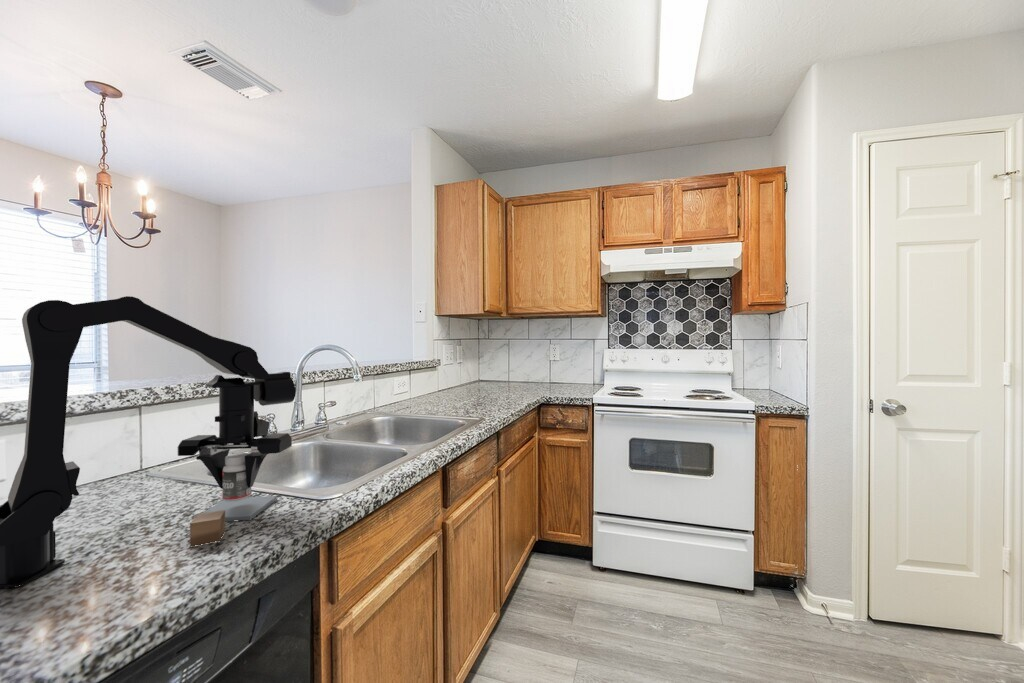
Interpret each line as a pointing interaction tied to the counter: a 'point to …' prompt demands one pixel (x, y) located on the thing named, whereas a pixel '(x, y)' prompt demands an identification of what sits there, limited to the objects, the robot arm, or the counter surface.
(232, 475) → the pill bottle
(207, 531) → the walnut block
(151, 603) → the counter surface
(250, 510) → the coaster
